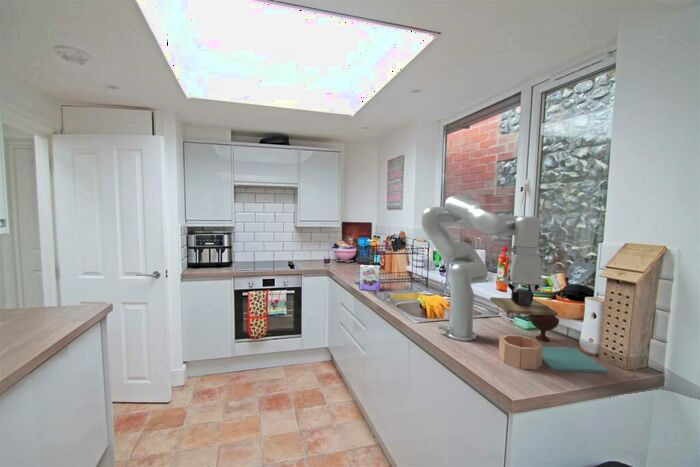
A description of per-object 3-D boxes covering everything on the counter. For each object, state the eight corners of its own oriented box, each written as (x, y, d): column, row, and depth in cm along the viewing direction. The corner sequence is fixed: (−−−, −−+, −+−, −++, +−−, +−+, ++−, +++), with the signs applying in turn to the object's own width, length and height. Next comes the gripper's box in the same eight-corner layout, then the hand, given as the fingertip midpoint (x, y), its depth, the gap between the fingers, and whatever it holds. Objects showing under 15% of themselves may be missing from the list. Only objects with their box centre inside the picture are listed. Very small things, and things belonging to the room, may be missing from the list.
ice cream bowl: (562, 345, 130) (565, 309, 129) (532, 343, 133) (534, 306, 132) (552, 336, 141) (554, 302, 140) (524, 333, 143) (526, 300, 142)
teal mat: (551, 369, 110) (552, 367, 110) (526, 347, 128) (527, 345, 127) (608, 372, 108) (608, 370, 108) (574, 350, 126) (574, 348, 126)
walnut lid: (507, 313, 108) (508, 295, 107) (490, 299, 124) (491, 284, 123) (557, 315, 107) (558, 297, 106) (533, 301, 123) (534, 286, 122)
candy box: (358, 290, 218) (359, 265, 217) (359, 288, 224) (360, 264, 223) (379, 291, 216) (379, 266, 215) (379, 289, 222) (380, 265, 221)
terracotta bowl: (508, 368, 110) (509, 347, 110) (494, 352, 123) (495, 334, 123) (547, 370, 109) (548, 349, 109) (529, 353, 122) (530, 335, 122)
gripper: (504, 252, 111) (501, 304, 112) (556, 253, 109) (551, 307, 111) (496, 249, 118) (493, 298, 119) (544, 251, 117) (540, 300, 118)
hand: (521, 302), depth 115 cm, fingers closed on walnut lid, 4 cm apart
